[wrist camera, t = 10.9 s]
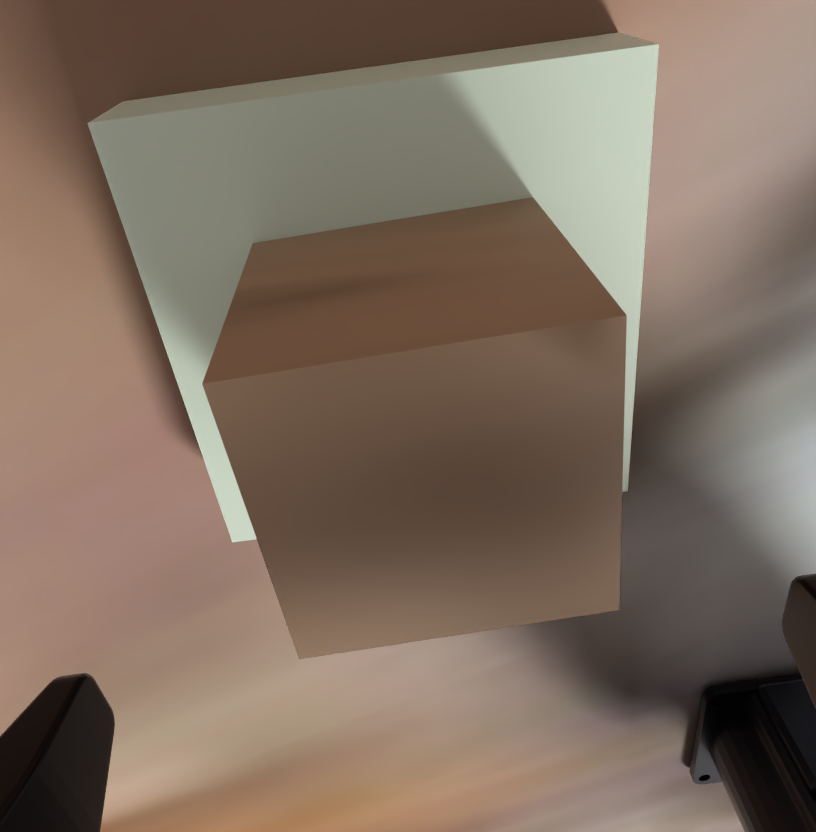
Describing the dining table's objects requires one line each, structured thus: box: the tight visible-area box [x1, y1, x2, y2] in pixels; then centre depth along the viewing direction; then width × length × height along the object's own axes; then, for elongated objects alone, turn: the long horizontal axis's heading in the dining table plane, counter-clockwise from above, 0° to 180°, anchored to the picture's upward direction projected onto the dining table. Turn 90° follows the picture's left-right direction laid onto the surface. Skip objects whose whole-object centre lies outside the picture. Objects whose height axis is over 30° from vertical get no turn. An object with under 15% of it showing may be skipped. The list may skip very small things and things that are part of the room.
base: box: [87, 33, 659, 542], centre depth 18 cm, size 11×11×3 cm
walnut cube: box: [202, 197, 627, 659], centre depth 14 cm, size 6×6×6 cm
